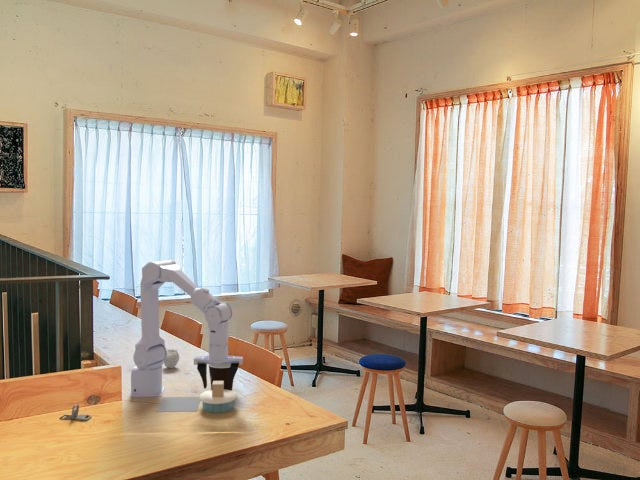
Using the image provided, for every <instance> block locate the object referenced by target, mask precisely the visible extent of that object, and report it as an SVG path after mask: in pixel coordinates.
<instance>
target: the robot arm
mask: <svg viewBox="0 0 640 480" xmlns="http://www.w3.org/2000/svg"><path fill="white" fill-rule="evenodd" d="M181 269H182V268H181V265H180V264H178V263H176V261H175V260H173V259H166V260H160V261H150V262H149V261H148V262H147V263H145V265H144V266H142V268H141V280H140V285H139V286H140V314H141V316H140V317H141V318H140V321H141V323H140V324H141V337H140V339H139V340H138V341H137V342H136V344H135V348H134V349H135V350H134V352H133V358H132V359H133V363H134V364H135V366H133V367H132V369H131V371H130V372H131V373H130V397H134V398H135V397H136V398H137V397H138V398H139V397H144V398H145V397H161V396H162V395H163V393H164V391H165V389H166V387H165V386H163V365H164V360H165V359H166V357H167V350H168V349H167V347H166V344H165V341H166V340H164V338H163V337H161V336H160V313H159V312H160V310H159V309H160V307H159V305H160V304H159V303H160V301H159V289H160V288H161V287H162V286H163V285H164V284H165V283H173V284H175V286H177V287H178V288H179V289H180V290H182V291H183V292H184V293H186V294H187V295H188V296H189V297H190V302H191V303H192V304H193V305H194V306H195V307H196V308H197V309H198V310H199V311H201V312H202V314H204V318H205V321H206V322H207V328H208V332H209V333H208V355H202V356H193V365H194V366H197V367H196V368H197V371H198V373H199V376H200V377H201V381H202V385H203V389H207V387H208V380H207V378H208V377H207V373H208V372H207V370H208V369H207V368H208V365H209V364H231V365H230V388H232V389H233V387H232V384H233V385H234V380H235V376H236V374H237V371H238V369H239V368H240V365H243V361H244V359H243V356H238V355H237V356H235V355H229V321H230V320H231V318H232V316H233V309H232V307H231V306H230V305H229V303H228V302H225V301H220V300H219V299H218V298H216V297H215V296H214V295H213V294H212V293H210V290H209V289H208V288H206V287H198V286H197V285H196V284H195V283H194V282H193V281H192V280H191V279H190V278H189V276H188V275H186V274H185V273H184V271H182V270H181Z"/></svg>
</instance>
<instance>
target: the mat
mask: <svg viewBox="0 0 640 480" xmlns="http://www.w3.org/2000/svg"><path fill="white" fill-rule="evenodd" d="M200 403H201V400H200V396H163V397H162V399H161V401H160V402H159V405H158V407H157V409H156V410H155V412H156V413H169V412H170V413H176V412H179V413H181V412H189V413H190V412H192V413H193V412H198V409H199V406H200Z"/></svg>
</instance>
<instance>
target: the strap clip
mask: <svg viewBox="0 0 640 480" xmlns="http://www.w3.org/2000/svg"><path fill="white" fill-rule="evenodd" d="M79 410H80V405H79V403H77V404H76V403H75V404H74V405H73V406H72V409H71V414H63V415H62V416H60V417H59V418H58V419H59V420H60V421H61V420H62V421H63V420H64V421H72V420H74V421H79V422H87V421H89V420H91V419H92V415H89V414H79Z"/></svg>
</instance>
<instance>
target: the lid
mask: <svg viewBox="0 0 640 480" xmlns="http://www.w3.org/2000/svg"><path fill="white" fill-rule="evenodd" d="M199 397H200V402H202V403H203V402H205V403H209V404H223V403H228V402H231V401H233V402H234V401H235V400H236V398H237V393H236V392H235V391H233V390H232V391H231V390H226V389H224V381H213V384H212V390H211V389H209V390H205V391H204V392H201V393H200V394H199Z"/></svg>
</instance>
